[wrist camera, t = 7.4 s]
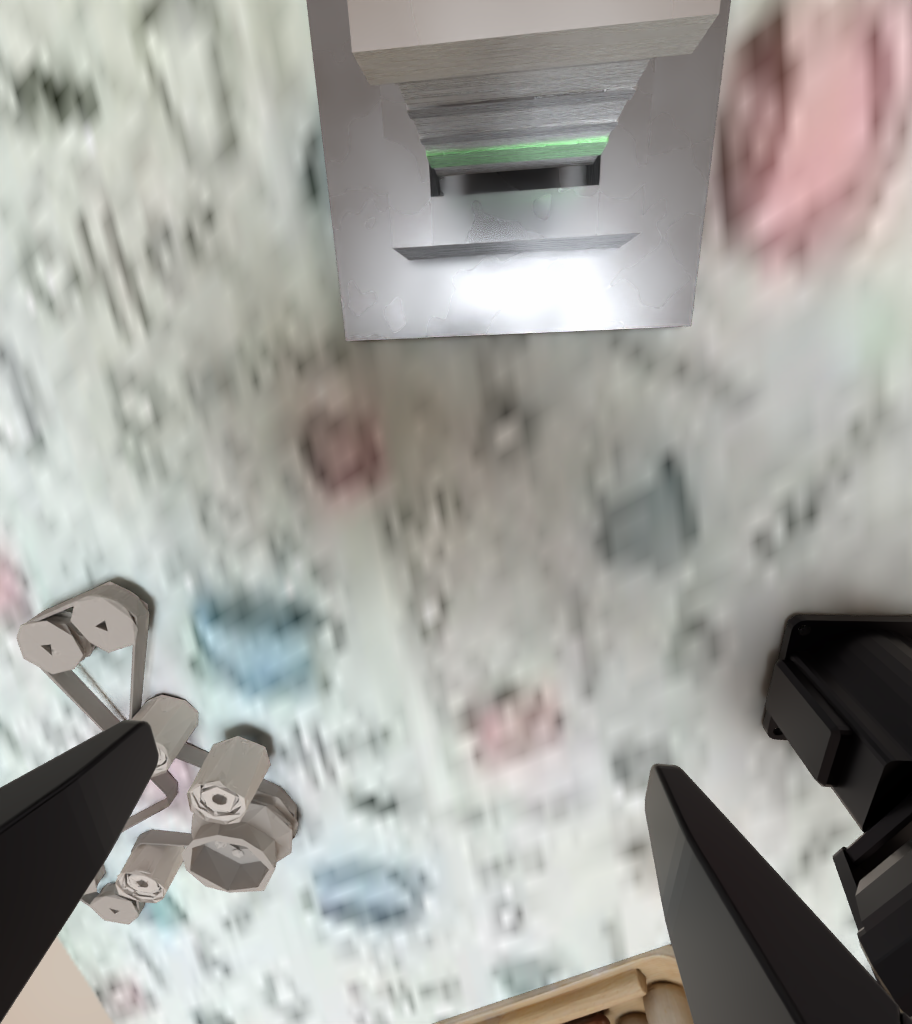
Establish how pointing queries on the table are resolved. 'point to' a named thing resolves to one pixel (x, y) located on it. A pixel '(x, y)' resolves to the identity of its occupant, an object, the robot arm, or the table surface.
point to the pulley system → (167, 765)
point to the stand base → (516, 209)
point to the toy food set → (598, 997)
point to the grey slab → (518, 71)
